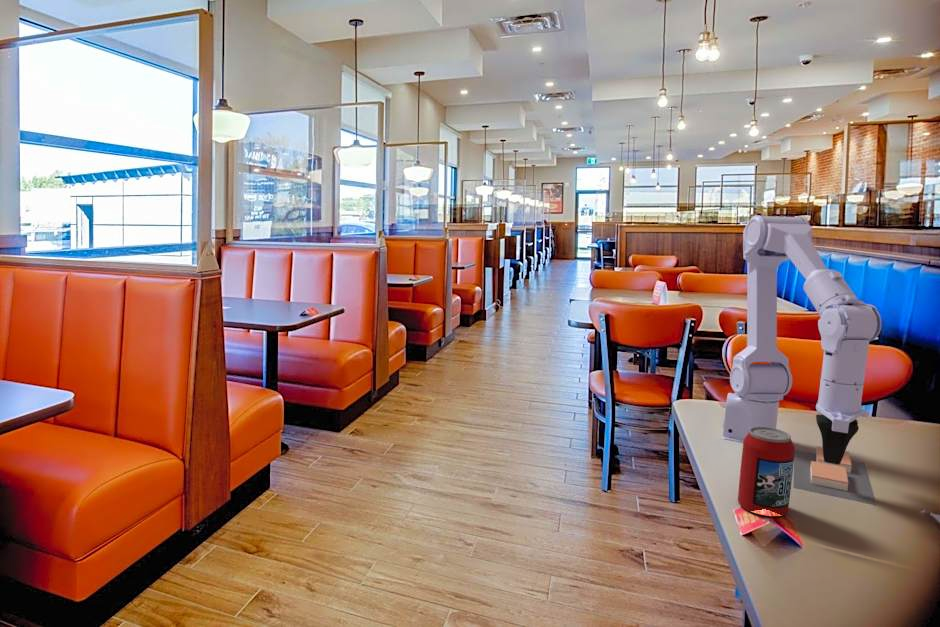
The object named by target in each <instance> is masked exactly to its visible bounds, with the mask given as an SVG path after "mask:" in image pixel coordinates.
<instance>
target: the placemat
mask: <svg viewBox="0 0 940 627" xmlns="http://www.w3.org/2000/svg"><path fill="white" fill-rule="evenodd" d="M811 461H814V462H816V452H810V451H804V450H798V449H795V455H794V465H793V489H798V490H803V491H807V492H810V493H811V492H812V493H817V494H820V495H821V494H822V495H827V496H830V497H831V496H832V497H837V498H839V499H845V500H849V501H850V500H851V501H855V502H860V503H864V504H869V505H873V506H877V502H876V500H875V496H874V492H873V489H872V485H871V482H870V478H869V475H868V472H867V468H866V464H865V462H863V461H859V460H853V459H850V461H851V465H852V466H851V473H848V472H846V473H847V478H848V490H847V491H845V490H840V489H835V488H831V487H826V486H821V485H816V484H811V471H810V468H811Z"/></svg>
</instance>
